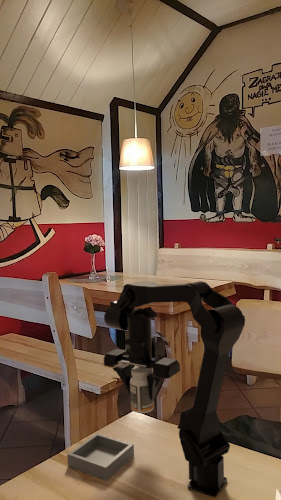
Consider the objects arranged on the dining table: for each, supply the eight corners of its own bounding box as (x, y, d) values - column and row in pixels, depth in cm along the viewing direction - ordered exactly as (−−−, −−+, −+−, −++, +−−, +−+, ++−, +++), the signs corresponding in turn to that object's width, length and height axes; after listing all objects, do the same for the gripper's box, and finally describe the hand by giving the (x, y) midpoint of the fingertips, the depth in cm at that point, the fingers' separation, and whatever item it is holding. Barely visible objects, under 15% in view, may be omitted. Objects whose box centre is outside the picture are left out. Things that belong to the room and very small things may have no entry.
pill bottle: (155, 404, 111) (153, 365, 110) (153, 414, 106) (151, 373, 105) (132, 403, 112) (131, 365, 111) (129, 414, 106) (127, 373, 105)
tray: (134, 456, 106) (133, 444, 106) (106, 480, 97) (105, 467, 97) (97, 444, 112) (96, 432, 112) (68, 466, 103) (67, 454, 103)
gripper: (190, 330, 109) (191, 392, 110) (127, 321, 119) (129, 378, 120) (166, 343, 99) (168, 410, 101) (101, 332, 110) (103, 393, 111)
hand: (141, 396), depth 109 cm, fingers closed on pill bottle, 6 cm apart
